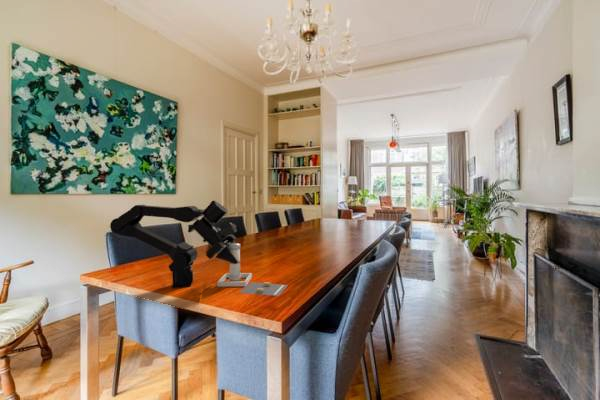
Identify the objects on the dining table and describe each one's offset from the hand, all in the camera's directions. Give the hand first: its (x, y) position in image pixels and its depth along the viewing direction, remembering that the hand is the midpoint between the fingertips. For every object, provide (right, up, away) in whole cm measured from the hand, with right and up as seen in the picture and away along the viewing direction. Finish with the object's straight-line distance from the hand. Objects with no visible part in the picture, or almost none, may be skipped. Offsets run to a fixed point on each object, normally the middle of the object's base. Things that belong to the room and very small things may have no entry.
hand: (238, 261), depth 101 cm
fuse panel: (+10, -9, -8) cm, 16 cm away
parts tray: (-1, -9, 0) cm, 9 cm away
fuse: (-1, -7, 0) cm, 7 cm away
